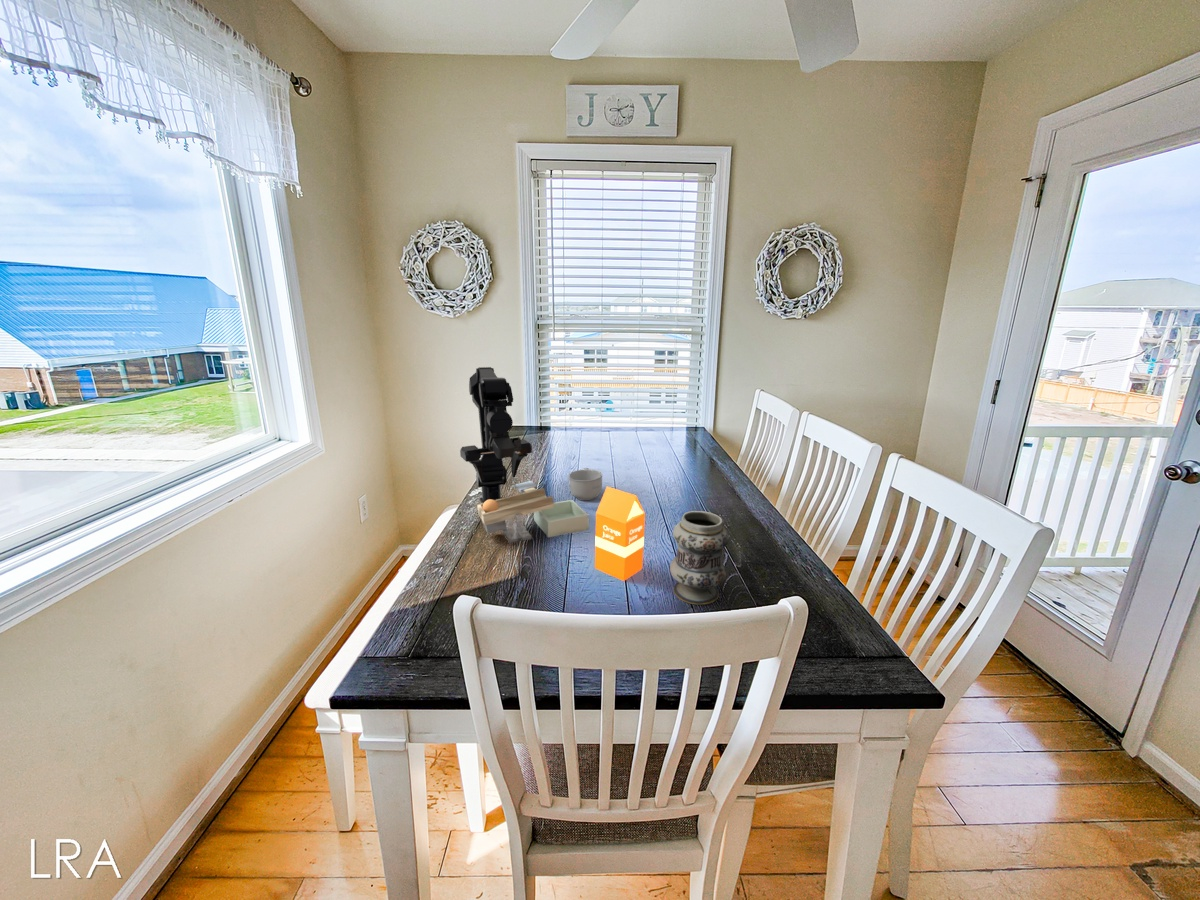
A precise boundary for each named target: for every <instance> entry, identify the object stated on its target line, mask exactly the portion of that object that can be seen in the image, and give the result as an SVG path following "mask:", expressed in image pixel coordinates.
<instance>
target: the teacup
mask: <svg viewBox="0 0 1200 900" xmlns="http://www.w3.org/2000/svg"><path fill="white" fill-rule="evenodd" d="M568 479H569V480H568V481H569V482H568V483H569V489H570V493H571V495H572V496H573V497H575V498H576V499H577V500H580V501H591V500H594V499H596V498H597V497H598V496H599V495H600V494H601V493H602V489H603V472H601V471H599V470H596V469H589V467H585V468H583V469H578V470H574V471H572V472H570V473H569V474H568Z"/></svg>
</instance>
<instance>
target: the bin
mask: <svg viewBox="0 0 1200 900" xmlns="http://www.w3.org/2000/svg"><path fill="white" fill-rule="evenodd" d="M553 504H554V507H552V508H548V509H545V510H541V511H537V512H533V521H534V522H535V523H536V525H537V526H538V527H539V528H540V529H541V530H542V532H543V533H544V534H545V535H546V537H547V538H553V537H557V535H558V536H562V535H563V534H564V535H568V533H569V534H573V533H574V534H575V533H579V532H585V531H589V528H590V527H589V525H590V521H589V519H590V518H589V517H590V514H588V513H587V512H586V511H585V510H584V509H583V508H582V507H581V506H580V505H579V504H577V503H576V502H575V501H574V500H573V499H569V500H568V499H567V500H562V501H561V500H560V501H555V502H553ZM552 536H553V537H552Z"/></svg>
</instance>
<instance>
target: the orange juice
mask: <svg viewBox="0 0 1200 900" xmlns="http://www.w3.org/2000/svg"><path fill="white" fill-rule="evenodd" d="M645 524H646V513H645V511H644V509H643V507H642V504H641V503H640V501H639V499H638V497H637V495H635V494H632V493H631V492H626V491H623V490H620V489H617V488H614V487H610V486H606V487H605V490H604V492H603V495H602V497H601V499H600V502H599V505H598V506H597V509H596V512H595V539H594V542H595V543H594V548H595V549H594V553H595V554H594V569H595V570H598V571H600V572H602V573H604V574H606V575H609V576H611V577H613V578H616V579H618V580H621V581H623V582H625V581H626V580H628V579H629V578H630V577H633V576H634V575H635V574H637V573H638V572H640V571H641V570H643V562H644V560H643V559H644V546H645V526H646V525H645Z"/></svg>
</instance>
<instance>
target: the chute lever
mask: <svg viewBox="0 0 1200 900" xmlns="http://www.w3.org/2000/svg"><path fill="white" fill-rule="evenodd" d="M515 488H516V489H517V490H518V492H519V493H517V494H514V495H510V496H505V497H501V499H497V500H495V501H496V502H497V504H498V510H495V511H491V512H487V513H485V511H484V510H483V504H484V503H478V504H476V507H477V508H476V509H477V513H478V514H477V515H478V516H479V518H480V519H481V523H482V526H483V528H484V530H485V532H486V534H487V535H489V534H493V533H497V532H500V531H501V530H505V529H506V523H507V519H511V518H513V519H514V518H515V519H516V514H519V513H522V514H523V516H525V515H530V514H534V512H537V511H541V510H545V509H548V508H552V507H554V504H553V503H554V497H553V496H552V495H550V496H547V495H546V489H545V488H544V487H541V488H538V486H537V484H536V483H535V482H533V480H528V481H524V482H519V483H516V484H515ZM501 532H502V531H501Z"/></svg>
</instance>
